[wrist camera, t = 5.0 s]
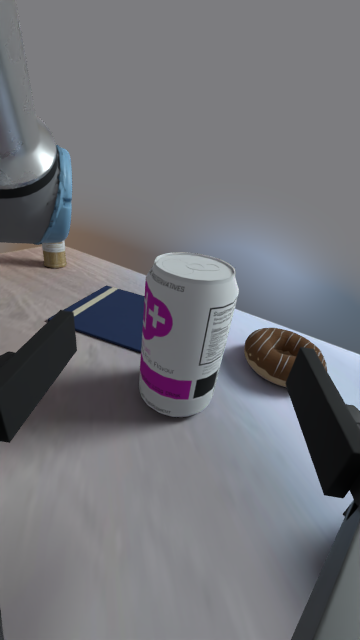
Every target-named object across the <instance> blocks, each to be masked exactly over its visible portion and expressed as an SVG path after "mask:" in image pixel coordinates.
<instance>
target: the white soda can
mask: <svg viewBox="0 0 360 640" xmlns="http://www.w3.org/2000/svg"><path fill="white" fill-rule="evenodd" d="M238 293H239V290H238V286H237V283H236V279H235V269H234V267H232V266H231V265H230V264H229V263H226V262H225V261H222V260H220V259H217V258H214V257H210V256H207V255H202V254H196V253H186V252H174V253H173V252H172V253H166V254H162V255H160V256H158V257H156V260H155V261H154V265H153V266H152V268H151V270H150V271H149V273H148V274H147V276H146V284H145V300H144V315H143V331H142V347H141V363H140V379H139V389H140V394H141V397H142V398H143V400H144V401H145V402H146V404H147V405H148V406H150V407H151V408H153V409H154V410H156V411H157V412H159V413H161V414H165V415H168V416H172V417H188V416H191V415H194V414H197V413H200V412H201V411H202V410H204V409H205V408H206V407H207V406H208V405H209V403H210V401H211V399H212V397H213V393H214V389H215V385H216V381H217V377H218V373H219V369H220V365H221V361H222V357H223V353H224V349H225V345H226V341H227V337H228V333H229V329H230V325H231V321H232V317H233V313H234V309H235V305H236V301H237V297H238Z"/></svg>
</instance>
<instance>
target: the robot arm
mask: <svg viewBox="0 0 360 640" xmlns="http://www.w3.org/2000/svg"><path fill="white" fill-rule="evenodd" d="M71 200H72V169H71V159H70V155H69V153H68V151H67V150H65V149H64V148H61V147H59V146H58V145H56V144H55V141H54V138H53V136H52V133H51V131H50V130H49V128H48V127H47V125H46V124H45V123H44V122H43V121H42V120H41V119H40V118H39V117H38V116H36V115H35V109H34V104H33V98H32V92H31V87H30V80H29V75H28V70H27V63H26V57H25V51H24V45H23V40H22V34H21V28H20V22H19V16H18V11H17V4H16V0H0V242H7V243H30V244H36V245H39V244H42V243H59V242H62V241H64V240H65V239H66V237H67V236H68V234H69V230H70V223H71ZM76 351H77V347H76V335H75V323H74V312H70V311H64V310H60V311H59V312H58V313H57V314H56V315H55V316H54V317H53V318H52V319H51V320H50V321H49V322H48V323H47V324H45V325H44V326H43V327H42V328H41V329H40V330H39V331H38V332H37V333H36V334H35V335H34V336H33V337H32V338H31V339H30V340H29V341H28V342H27V343H25V344H24V345H23V346H22V347H21V348H20V349H19V350H18V351H17V352H16V353H14V352H7V353H5V354H3V355H1V356H0V441H3V442H9V443H10V441H11V440H12V438H13V437H14V436H15V434H16V433H17V432H18V430H19V429H20V427H21V426H22V425H23V423H24V422H25V421H26V419H27V418H28V417H29V415H30V414H31V412H32V411H33V410H34V408H35V407H36V406H37V404H38V403H39V401H40V400H41V399H42V397H43V396H44V395H45V393H46V392H47V391H48V389H49V388H50V386H51V385H52V384H53V382H54V381H55V380H56V378H57V377H58V375H59V374H60V373H61V371H62V370H63V369H64V367H65V366H66V365H67V363H68V362H69V360H70V359H71V358H72V356H73V355H74V354H75V352H76ZM285 384H286V387H287V389H288V392H289V395H290V398H291V401H292V404H293V407H294V410H295V412H296V415H297V418H298V421H299V424H300V427H301V430H302V433H303V435H304V438H305V441H306V444H307V447H308V450H309V453H310V456H311V458H312V461H313V464H314V467H315V470H316V473H317V476H318V479H319V482H320V484H321V487H322V490H323V493H324V495H326V496H332V497H338V498H344V497H345V495H346V494H347V493H348V491H349V490H350V492H351V494H352V496H353V499H354V501H353V502H352V503H351V504H350V506H349V507H348V508H347V509H346V511H345V512H344V513H343V515H344V516H345V518H344V520H343V523H342V525H341V527H340V530H339V532H338V534H337V536H336V539H335V541H334V543H333V545H332V548H331V550H330V552H329V555H328V557H327V559H326V561H325V564H324V566H323V568H322V570H321V573H320V575H319V577H318V579H317V582H316V584H315V586H314V589H313V591H312V593H311V595H310V598H309V600H308V602H307V604H306V607H305V609H304V611H303V614H302V616H301V618H300V620H299V623H298V625H297V627H296V629H295V632H294V634H293V636H292V639H291V640H360V411H359V410H358V409H357V408H356V407H355V406H353V405H347V404H345V403H344V401H343V399H342V397H341V396H340V394H339V392H338V390H337V389H336V387H335V385H334V383H333V382H332V380H331V378H330V376H329V375H328V373H327V371H326V369H325V368H324V366H323V364H322V362H321V361H320V359H319V357H318V355H317V353H316V352H315V350H314V349H311V348H305V347H300V349H299V351H298V354H297V356H296V359H295V361H294V364H293V366H292V368H291V371H290V373H289V376H288V378H287V381H286V383H285ZM0 640H4V636H3V630H2V620H1V610H0Z"/></svg>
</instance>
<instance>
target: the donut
mask: <svg viewBox="0 0 360 640" xmlns="http://www.w3.org/2000/svg"><path fill="white" fill-rule="evenodd" d="M300 347H305V348H311V349H314V350H315V352H316V353H317V355H318V357H319V359H320V361H321V362H322V364H323V366H324V368H325V369H326V371H327V367H326V362H325V360H324V356H323V355H322V353H321V351H320V350H319V349H318V348H317V347H316V346H315V345H314V344H313V343H311V342H310V341H309V340H307V339H305V338H304V337H302V336H300V335H298V334H296V333H293V332H290V331H287V330H282V329H277V328H263V329H259V330H256V331H254V332H253V333H252V334H250V335H249V336H248V338H247V339H246V342H245V347H244V352H245V357H246V359H247V362H248V363H249V365H250V366H251V367H252V369H253V370H254V371H255V372H256V373H258V374H259V375H260V376H261V377H263V378H265V379H266V380H268V381H270V382H272V383H274V384H277V385H280V386H283V387H286V384H285V383H286V381H287V378H288V376H289V373H290V371H291V368H292V366H293V364H294V361H295V359H296V356H297V354H298V351H299V349H300Z"/></svg>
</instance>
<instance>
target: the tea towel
mask: <svg viewBox="0 0 360 640" xmlns="http://www.w3.org/2000/svg"><path fill="white" fill-rule="evenodd" d="M144 300H145V296H142V295H138V294H134V293H131V292H127V291H124V290H120V289H117V288H113V287H110V286H105V287H103V288H101V289H100V290H98V291H96V292H94V293H93V294H91V295H89V296H87V297H86V298H84V299H82V300H80V301H78V302H77V303H75V304H73V305H71V306H70V307H68V308H66V309H64V311H70V312H74V323H75V331H78V332H81V333H84V334H87V335H90V336H93V337H96V338H99V339H102V340H105V341H108V342H110V343H113V344H116V345H119V346H122V347H125V348H128V349H131V350H134V351H137V352H140V353H141V347H142V331H143V315H144ZM54 316H55V315H54ZM54 316H52V317H50V318H49V319H48V321H50V320H51V319H52V318H53V317H54Z"/></svg>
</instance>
